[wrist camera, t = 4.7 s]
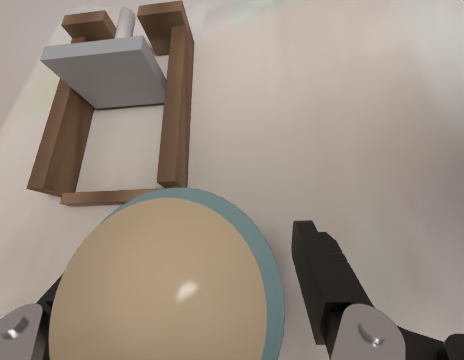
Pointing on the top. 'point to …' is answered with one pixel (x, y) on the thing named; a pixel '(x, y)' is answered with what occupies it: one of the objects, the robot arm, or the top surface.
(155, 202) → the jar
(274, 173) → the top surface
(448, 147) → the top surface
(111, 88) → the pusher
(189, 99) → the brown rectangular open frame
